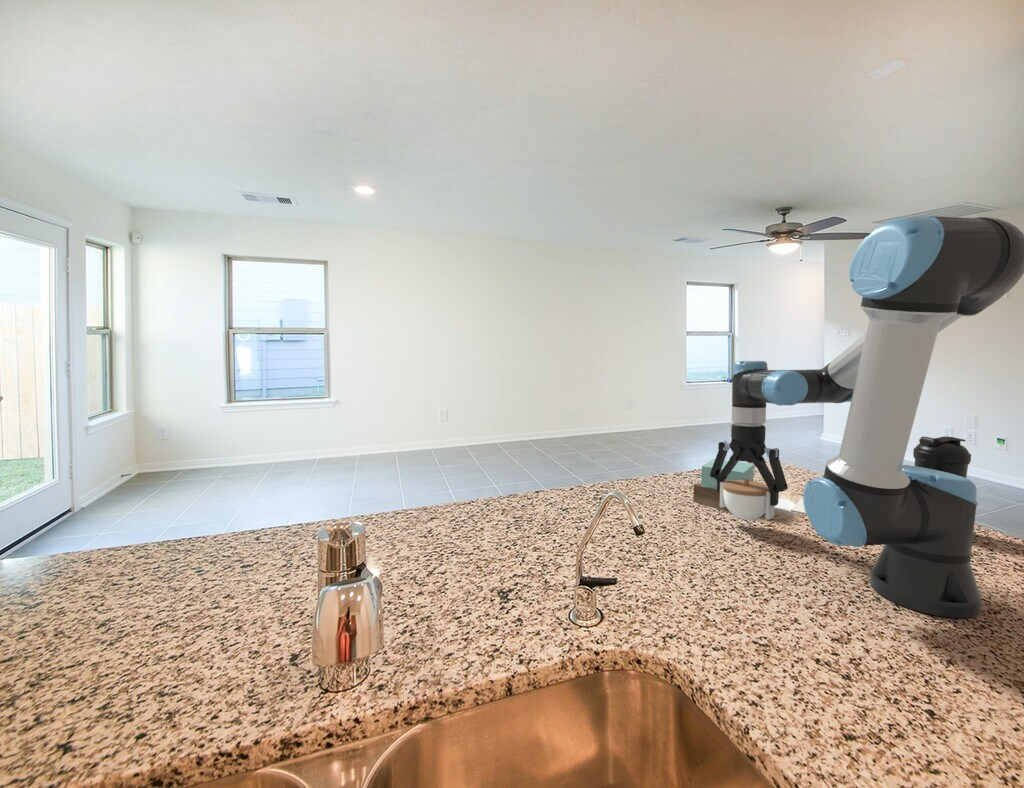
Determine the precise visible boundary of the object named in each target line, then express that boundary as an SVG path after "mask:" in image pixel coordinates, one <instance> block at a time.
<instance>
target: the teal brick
mask: <svg viewBox="0 0 1024 788" xmlns="http://www.w3.org/2000/svg"><path fill="white" fill-rule="evenodd" d="M715 459H716V458H713V459H711V460H709V461H708V462H706V463H705V464H703V465H702V466H701V480H700V481H701V482H700V483H701V487H705V488H711V489H716V490H717V480H716V479H715V478H713V477H710V472H711V470H712V467H713V464H714V462H715ZM728 461H729V460H724V463H723V465H722V468H721V471H722V469H723V468H724V467H725V465H726V464H727V463H728ZM754 469H755V465H754V464H753V463H748V462H746V463H745V462H741V461H738V463H737V464H736V465H735V467H734V468H733V469H732V471H731V472H730V473H729V475H728V476H727V477H726V478H727V479H725V480H726V481H730V480H744V479H749V481H754V474H755V473H754V471H755V470H754ZM721 471H720V472H721ZM719 474H720V473H719ZM725 480H724V481H725Z"/></svg>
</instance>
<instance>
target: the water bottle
mask: <svg viewBox="0 0 1024 788" xmlns="http://www.w3.org/2000/svg"><path fill="white" fill-rule="evenodd" d="M918 441H919V443H918V444H917V445H916V446H915V447H913V452H912V455H913V458H914V466H917V467H923V468H928V469H933V470H938V471H943V472H947V473H951V474H955V475H958V476H962V477H964V478H968V477H967V475H968V468H969V465H970V464H971V462H972V461H971V460H972V454H971V453H970V451H969V450H968V448H966V447H965V446H964V445H962V444H961V443H962V442H967V441H966V439H964V438H960V437H954V436H940V437H929V436H921V437H920V438H919V440H918Z"/></svg>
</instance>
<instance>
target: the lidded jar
mask: <svg viewBox="0 0 1024 788" xmlns="http://www.w3.org/2000/svg"><path fill="white" fill-rule="evenodd" d="M768 491H770V490H769V488H768V486H767V485H766V483H762V482H758V481H754V480H753V481H749V479H744V480H730V481H726V482H724V483H723V497H724V502H725V505H726V507H727V509H728V510H729V511H730V514H731V515H732V516H733V517H734V518H735V519H740V520H744V521H758V520H760V517H762V516H764V514H766V492H768ZM729 511H728V512H729Z"/></svg>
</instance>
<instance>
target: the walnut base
mask: <svg viewBox="0 0 1024 788" xmlns="http://www.w3.org/2000/svg"><path fill="white" fill-rule="evenodd" d="M692 497H693V498H692V499H693V500H692V502H694V503H697V504H700V505H705V506H708V507H710V508H715V509H718V510H722V511H726V512H730V511H729V510H728V509H727V507H723V508H721V507H720V493H717V490H716V489H711V488H705V487H701V482H697V483H695V484H693V496H692ZM730 513H731V512H730Z"/></svg>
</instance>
